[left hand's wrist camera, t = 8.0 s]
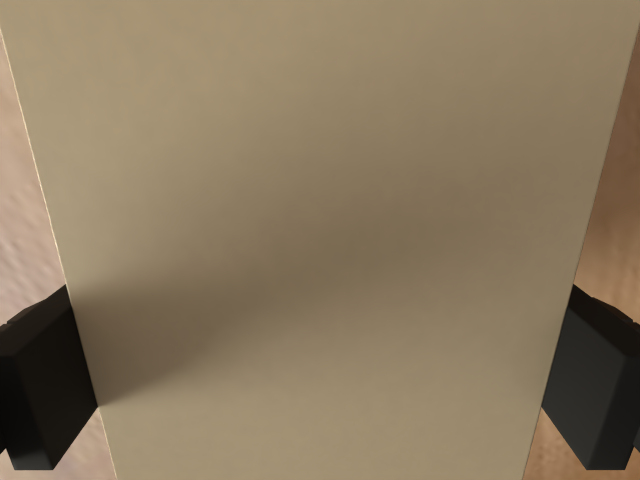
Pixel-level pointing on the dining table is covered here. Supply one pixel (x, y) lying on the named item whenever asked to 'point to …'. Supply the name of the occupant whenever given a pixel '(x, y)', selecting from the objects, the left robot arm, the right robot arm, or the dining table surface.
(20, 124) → the dining table surface
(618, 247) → the dining table surface
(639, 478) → the dining table surface
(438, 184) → the cabinet
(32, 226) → the dining table surface
